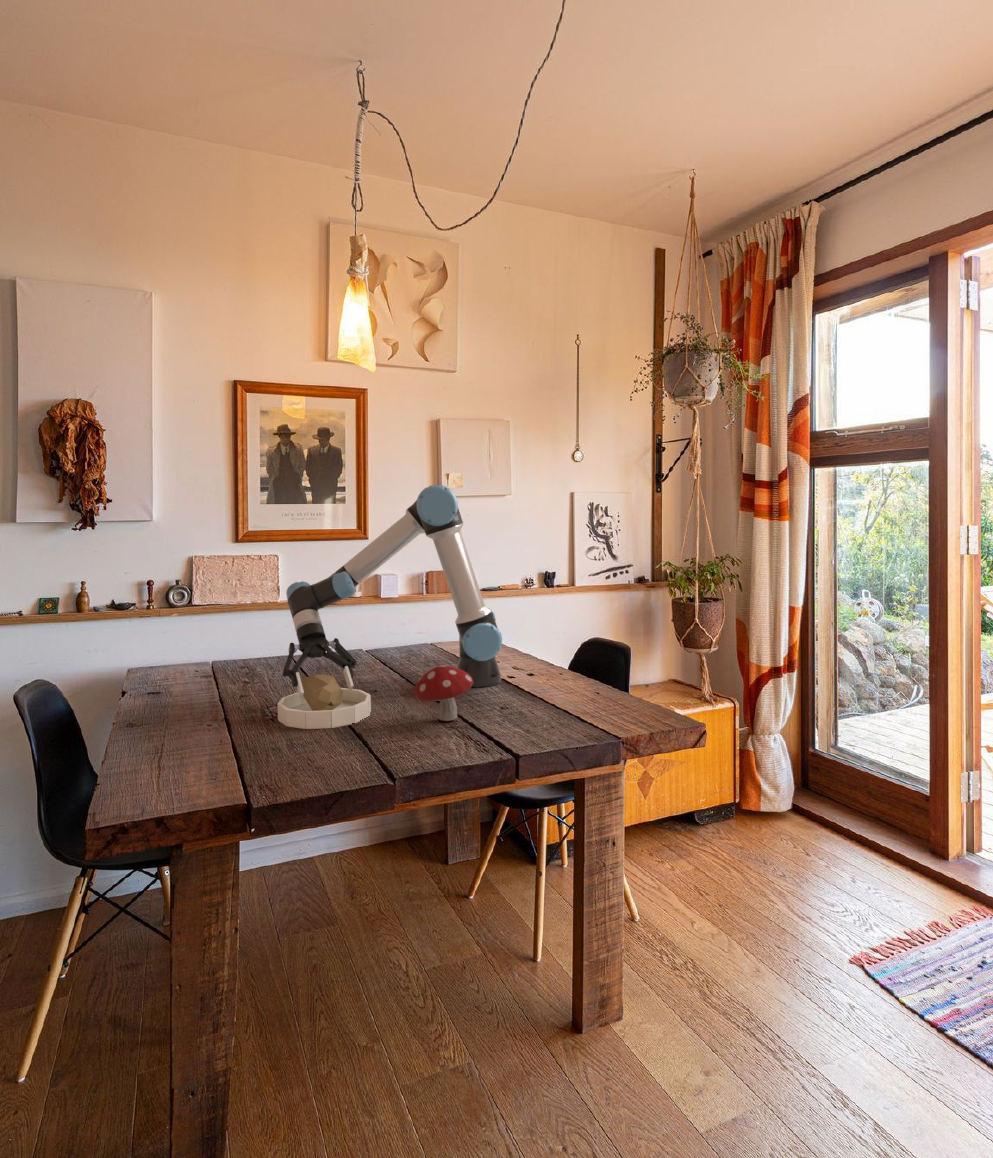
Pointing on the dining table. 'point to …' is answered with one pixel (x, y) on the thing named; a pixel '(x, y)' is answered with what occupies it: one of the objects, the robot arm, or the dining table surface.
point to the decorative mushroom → (443, 689)
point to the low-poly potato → (321, 692)
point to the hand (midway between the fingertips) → (327, 692)
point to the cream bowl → (324, 711)
